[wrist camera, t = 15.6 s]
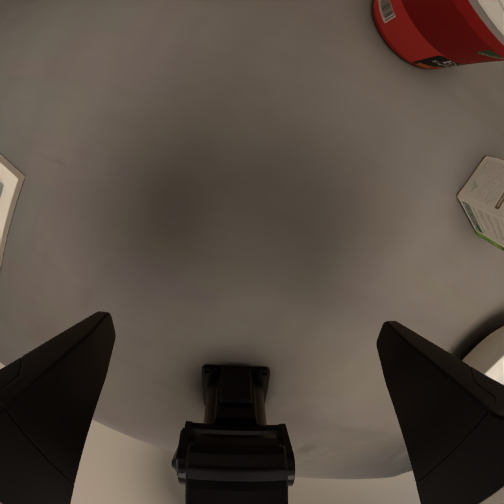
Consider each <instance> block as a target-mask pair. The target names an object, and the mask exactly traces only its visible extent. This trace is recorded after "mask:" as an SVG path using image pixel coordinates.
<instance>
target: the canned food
mask: <svg viewBox="0 0 504 504" xmlns="http://www.w3.org/2000/svg"><path fill="white" fill-rule="evenodd" d="M373 16H374V20H375V23H376V26H377V28H378V30H379V32H380V34H381V35H382V37H383V38H384V40H385V41H386V43H387V44H388V45H389V46H390V47H391V49H392V50H394V51H395V52H396V53H397V54H398V55H399V56H400V57H402V58H403V59H404V60H406V61H408V62H409V63H411V64H413V65H416V66H419V67H423V68H427V69H439V68H445V67H451V66H458V65H465V64H473V63H481V62H491V61H504V0H374V3H373Z"/></svg>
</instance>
